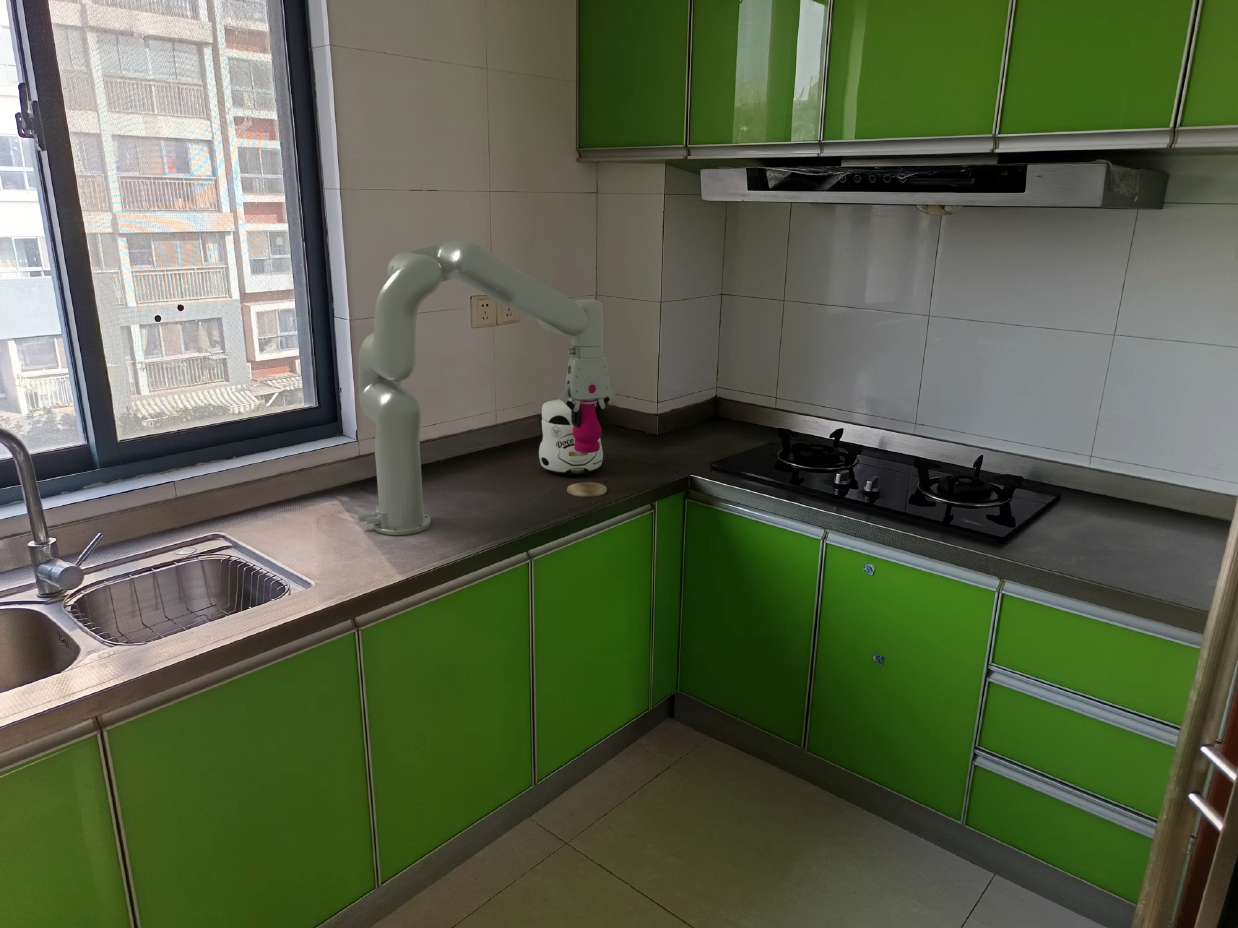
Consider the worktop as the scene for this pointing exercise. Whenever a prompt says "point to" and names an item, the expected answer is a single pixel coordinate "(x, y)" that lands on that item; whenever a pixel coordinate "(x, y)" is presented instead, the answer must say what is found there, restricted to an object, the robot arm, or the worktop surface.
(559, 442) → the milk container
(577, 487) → the plate
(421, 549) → the worktop surface
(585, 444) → the pepper mill
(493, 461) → the worktop surface
